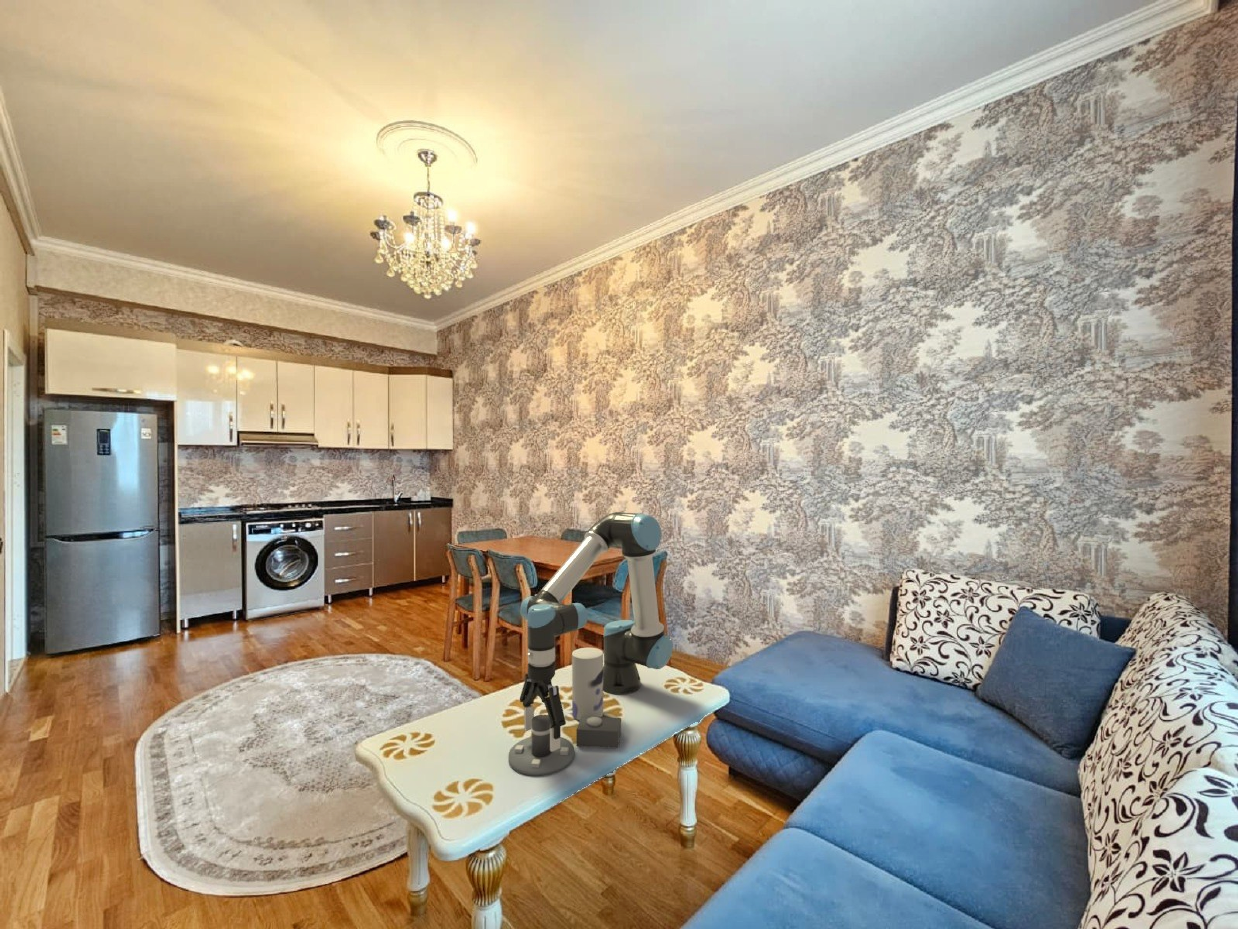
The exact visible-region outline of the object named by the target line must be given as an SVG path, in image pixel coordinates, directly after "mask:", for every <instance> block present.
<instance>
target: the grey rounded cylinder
mask: <svg viewBox="0 0 1238 929" xmlns="http://www.w3.org/2000/svg"><path fill="white" fill-rule="evenodd" d="M551 725H552V724H551V721H550V718H549V715H548V714H538V715H534V717H533V718H532V727H531V730H530V732H531V737H532V755H533V756H535V757H538V758H542V757H547V756H549V755H550V754H551V753H552V752H551V751H550V726H551Z"/></svg>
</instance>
